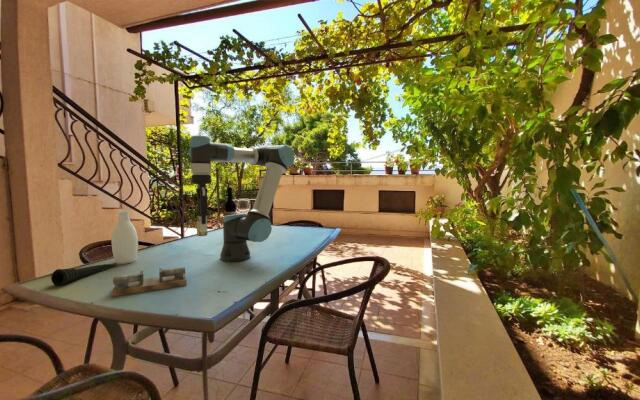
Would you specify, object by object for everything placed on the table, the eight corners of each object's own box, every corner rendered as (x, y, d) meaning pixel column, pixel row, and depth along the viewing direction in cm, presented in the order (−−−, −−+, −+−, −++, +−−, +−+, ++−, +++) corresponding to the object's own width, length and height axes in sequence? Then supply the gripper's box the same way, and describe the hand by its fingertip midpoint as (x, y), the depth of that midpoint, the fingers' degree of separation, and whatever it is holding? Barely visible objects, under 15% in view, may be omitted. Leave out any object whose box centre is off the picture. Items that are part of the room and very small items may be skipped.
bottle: (133, 257, 157) (131, 209, 155) (142, 260, 151) (140, 210, 149) (108, 262, 148) (106, 211, 146) (117, 266, 142) (115, 212, 140)
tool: (63, 288, 115) (62, 271, 114) (50, 286, 116) (49, 269, 115) (124, 267, 141) (124, 253, 141) (113, 266, 143) (113, 252, 142)
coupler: (206, 234, 127) (206, 218, 126) (208, 235, 123) (207, 219, 123) (196, 234, 125) (196, 218, 124) (197, 236, 121) (197, 219, 121)
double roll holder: (184, 278, 125) (184, 264, 125) (186, 285, 117) (186, 270, 117) (115, 288, 114) (115, 272, 113) (112, 296, 106) (111, 279, 105)
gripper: (189, 174, 128) (191, 228, 130) (193, 174, 113) (195, 235, 115) (207, 174, 131) (209, 227, 133) (214, 174, 116) (215, 233, 118)
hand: (202, 230), depth 124 cm, fingers closed on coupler, 4 cm apart
